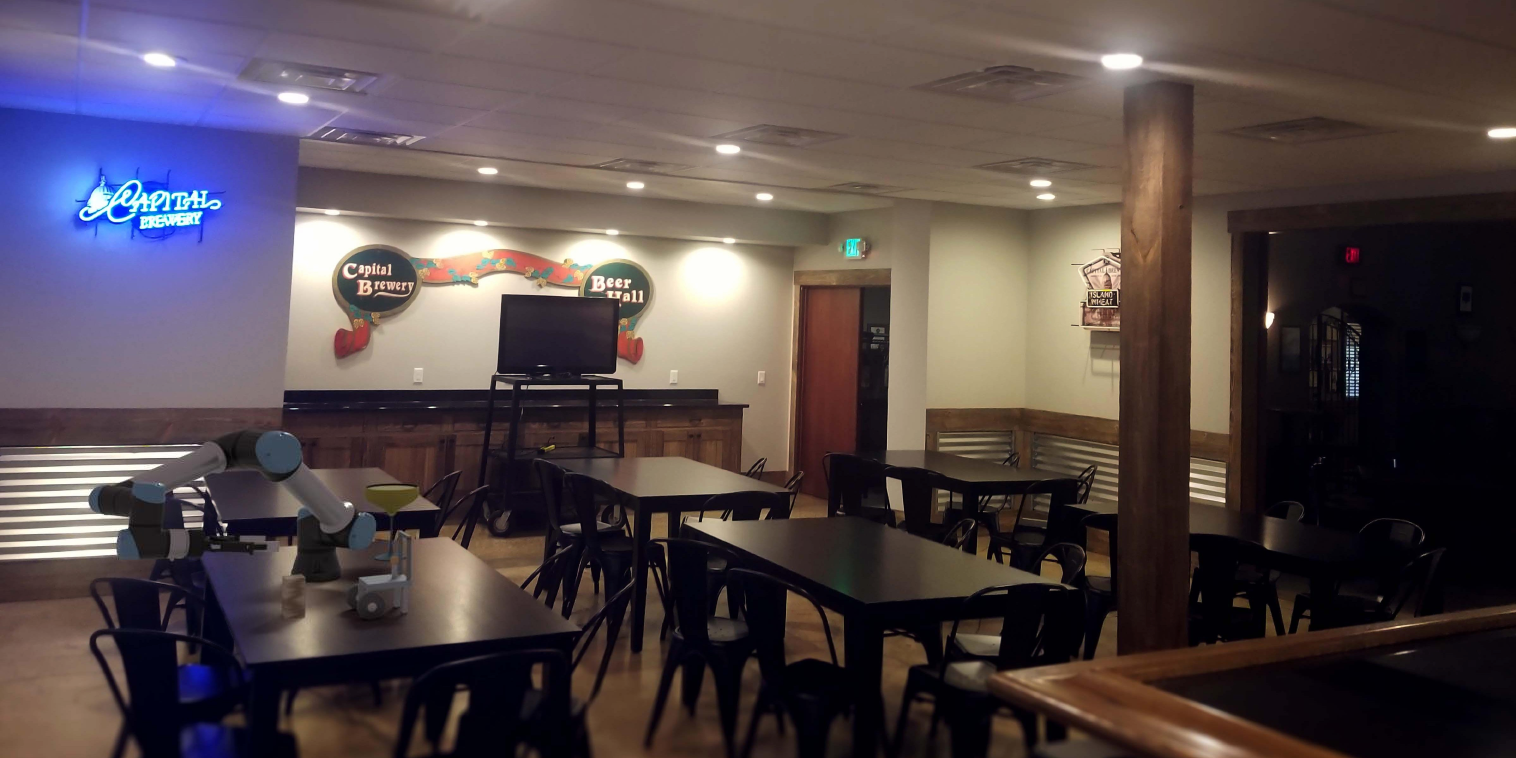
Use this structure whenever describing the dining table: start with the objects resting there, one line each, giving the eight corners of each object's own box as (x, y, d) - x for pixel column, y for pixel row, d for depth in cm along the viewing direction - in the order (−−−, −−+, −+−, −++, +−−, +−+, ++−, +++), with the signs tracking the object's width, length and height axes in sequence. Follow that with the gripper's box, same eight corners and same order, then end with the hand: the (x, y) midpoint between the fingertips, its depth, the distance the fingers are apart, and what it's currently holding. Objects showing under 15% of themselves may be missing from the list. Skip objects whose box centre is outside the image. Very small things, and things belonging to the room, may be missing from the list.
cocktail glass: (397, 550, 392) (398, 481, 391) (428, 557, 382) (429, 486, 381) (352, 557, 378) (353, 486, 377) (384, 565, 367) (385, 491, 366)
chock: (285, 619, 296) (285, 579, 296) (281, 615, 300) (282, 575, 300) (304, 617, 299) (305, 577, 299) (301, 613, 303) (301, 574, 303)
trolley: (358, 621, 296) (359, 542, 295) (345, 608, 309) (346, 533, 308) (414, 614, 304) (415, 537, 304) (398, 602, 317) (399, 529, 316)
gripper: (174, 552, 291) (257, 552, 305) (195, 564, 272) (283, 563, 285) (176, 524, 292) (260, 525, 305) (198, 534, 272) (286, 534, 286)
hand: (271, 543), depth 295 cm, fingers open, 13 cm apart
